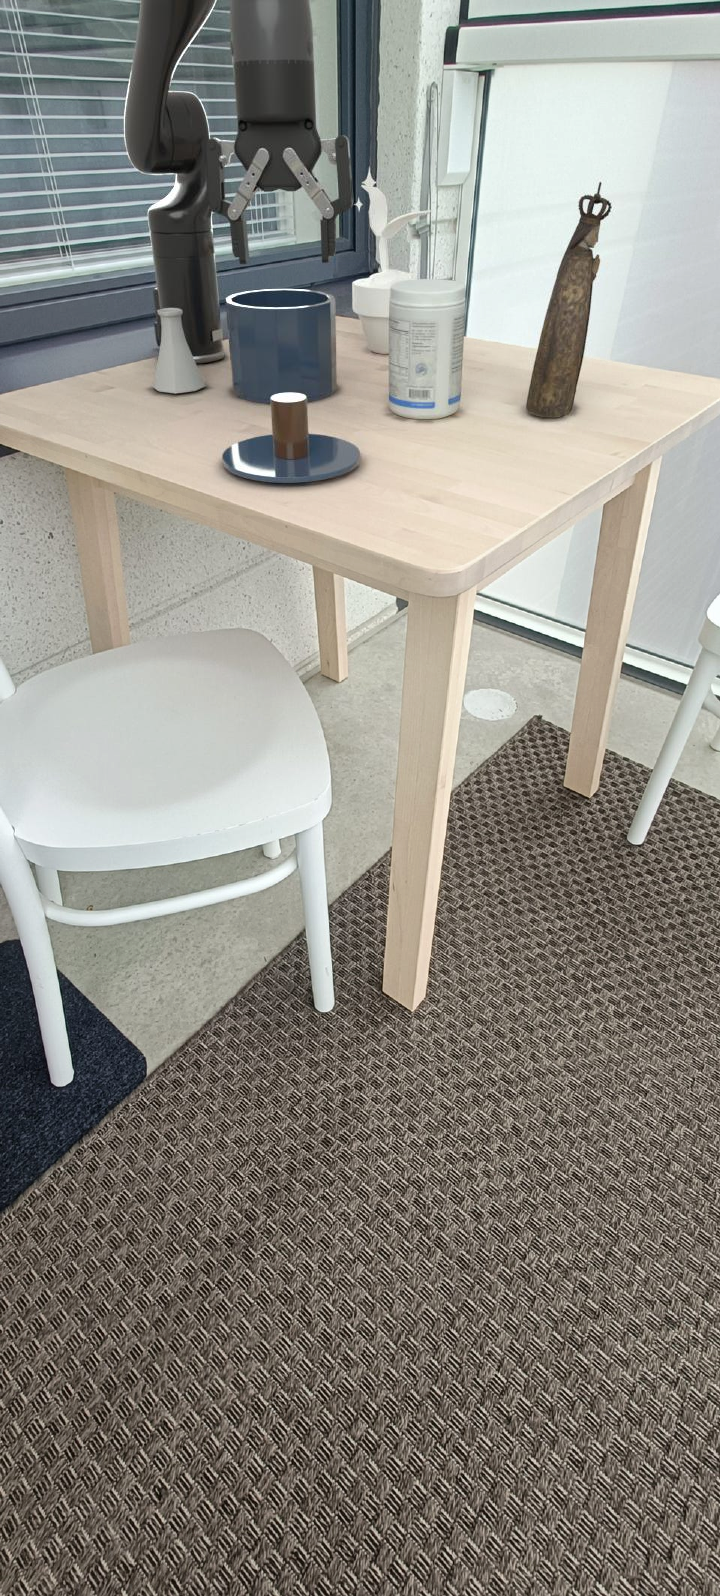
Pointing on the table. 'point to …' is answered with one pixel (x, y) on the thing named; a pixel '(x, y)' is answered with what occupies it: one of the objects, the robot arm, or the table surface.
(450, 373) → the supplement tub
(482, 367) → the table surface
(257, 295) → the canister
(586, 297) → the statue
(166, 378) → the flask
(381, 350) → the potted plant
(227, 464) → the lid
